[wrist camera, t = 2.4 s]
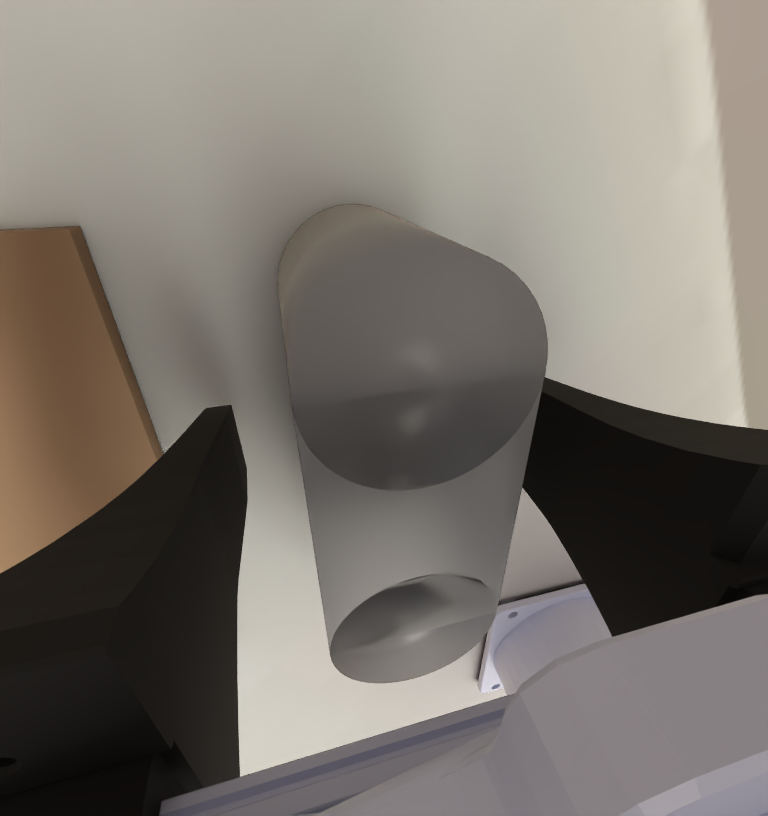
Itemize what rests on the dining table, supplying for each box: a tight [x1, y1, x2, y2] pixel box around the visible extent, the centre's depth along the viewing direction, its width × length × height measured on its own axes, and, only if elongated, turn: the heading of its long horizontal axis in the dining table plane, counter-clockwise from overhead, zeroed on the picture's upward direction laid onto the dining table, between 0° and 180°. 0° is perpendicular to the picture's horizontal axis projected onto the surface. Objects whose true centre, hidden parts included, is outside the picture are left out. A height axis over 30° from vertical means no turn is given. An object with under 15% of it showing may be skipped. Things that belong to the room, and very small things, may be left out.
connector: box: [278, 204, 548, 683], centre depth 11 cm, size 4×12×6 cm, turn 2°
